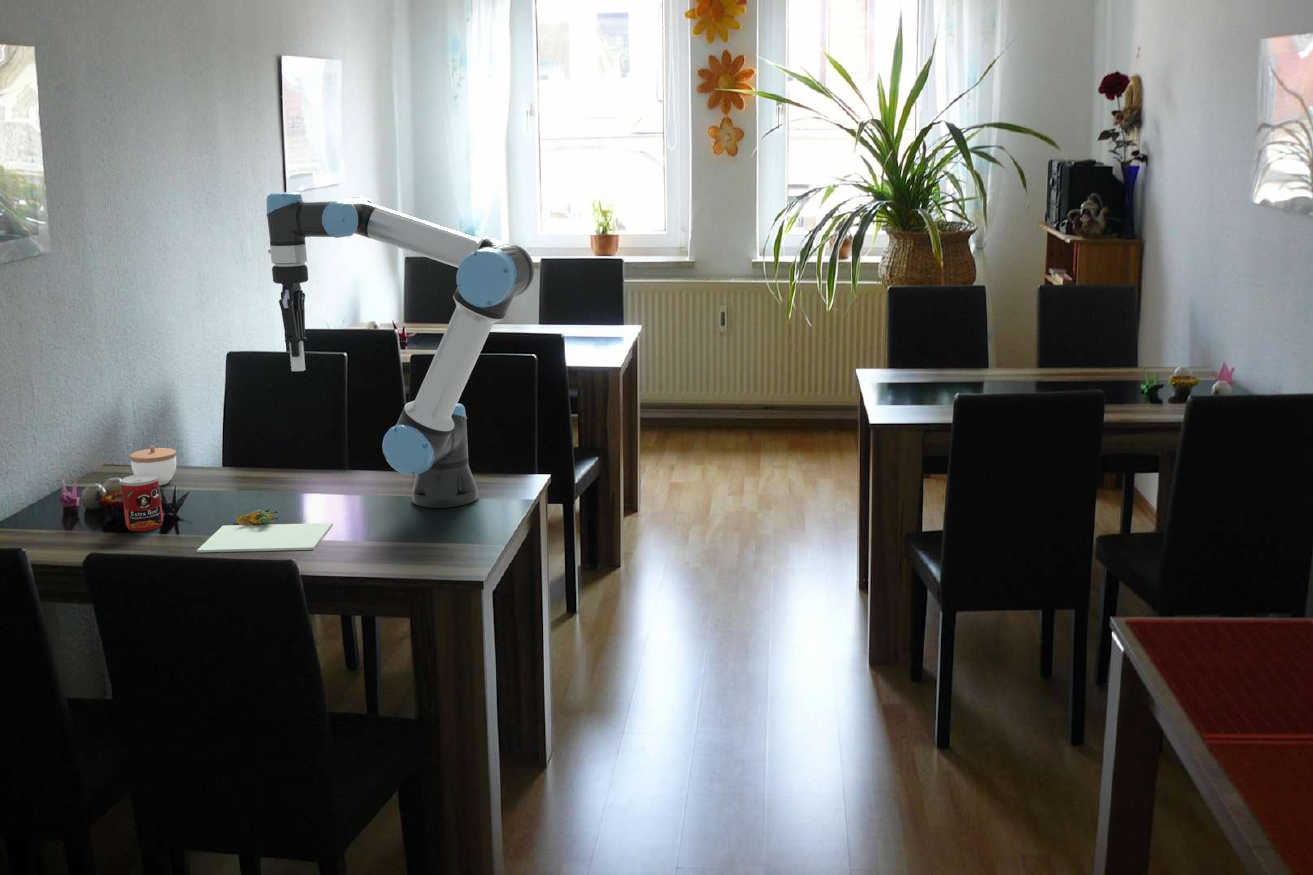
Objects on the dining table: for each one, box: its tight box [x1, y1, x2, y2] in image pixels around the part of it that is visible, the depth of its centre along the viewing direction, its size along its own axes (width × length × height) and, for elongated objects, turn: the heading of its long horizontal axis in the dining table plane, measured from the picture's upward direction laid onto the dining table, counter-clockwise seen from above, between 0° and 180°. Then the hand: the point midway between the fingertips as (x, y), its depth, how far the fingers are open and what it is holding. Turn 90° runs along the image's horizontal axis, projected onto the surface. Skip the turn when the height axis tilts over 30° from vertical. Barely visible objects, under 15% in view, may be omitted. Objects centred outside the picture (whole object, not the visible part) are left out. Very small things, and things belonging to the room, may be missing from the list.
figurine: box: [235, 508, 280, 526], centre depth 282 cm, size 3×12×8 cm
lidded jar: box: [129, 445, 177, 487], centre depth 318 cm, size 11×11×9 cm
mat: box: [196, 522, 334, 553], centre depth 273 cm, size 24×17×1 cm
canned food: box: [120, 474, 164, 532], centre depth 282 cm, size 8×8×11 cm
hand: (298, 370), depth 286 cm, fingers closed
